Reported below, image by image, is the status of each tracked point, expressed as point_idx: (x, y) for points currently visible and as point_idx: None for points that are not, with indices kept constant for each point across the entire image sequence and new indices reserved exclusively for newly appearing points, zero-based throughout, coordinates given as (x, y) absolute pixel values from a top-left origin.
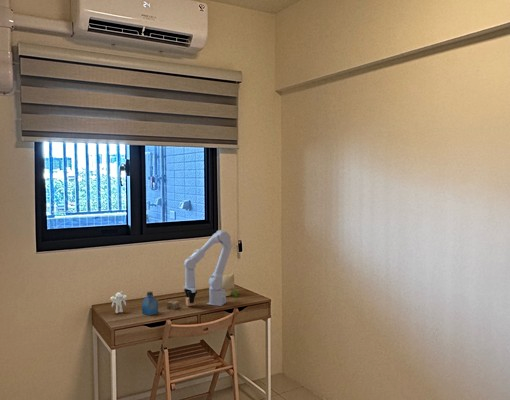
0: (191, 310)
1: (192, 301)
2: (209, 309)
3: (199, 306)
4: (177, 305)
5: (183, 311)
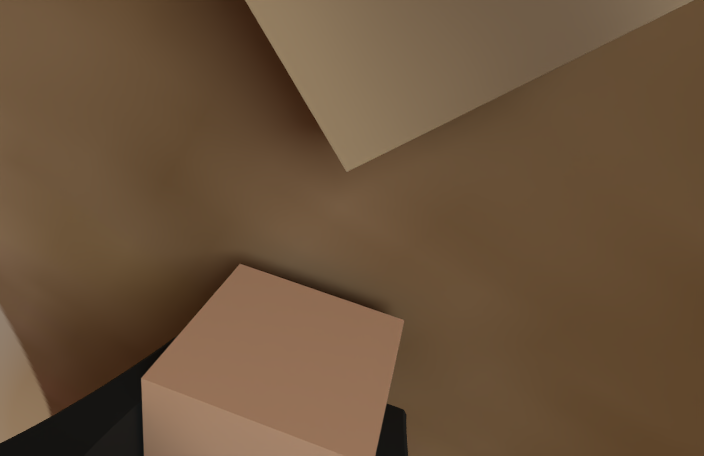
0: (60, 187)
1: None
2: (37, 377)
3: None
4: None
5: (39, 19)
